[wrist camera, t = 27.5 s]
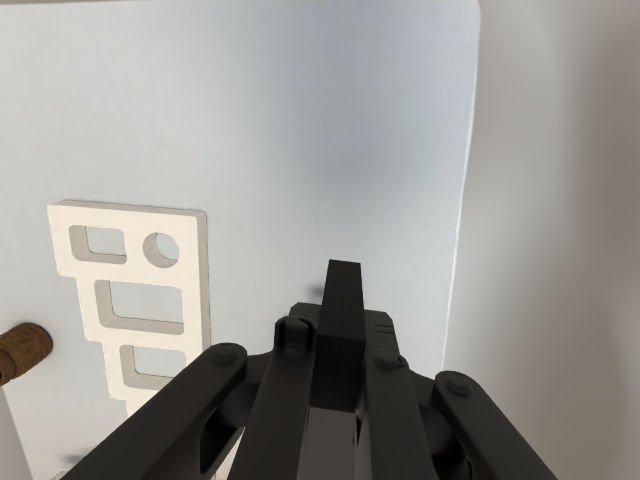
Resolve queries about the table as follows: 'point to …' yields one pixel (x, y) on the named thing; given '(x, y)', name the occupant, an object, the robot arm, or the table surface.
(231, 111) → the table surface
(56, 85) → the table surface
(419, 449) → the robot arm
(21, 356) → the utensil holder
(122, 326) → the holder
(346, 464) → the cabinet
